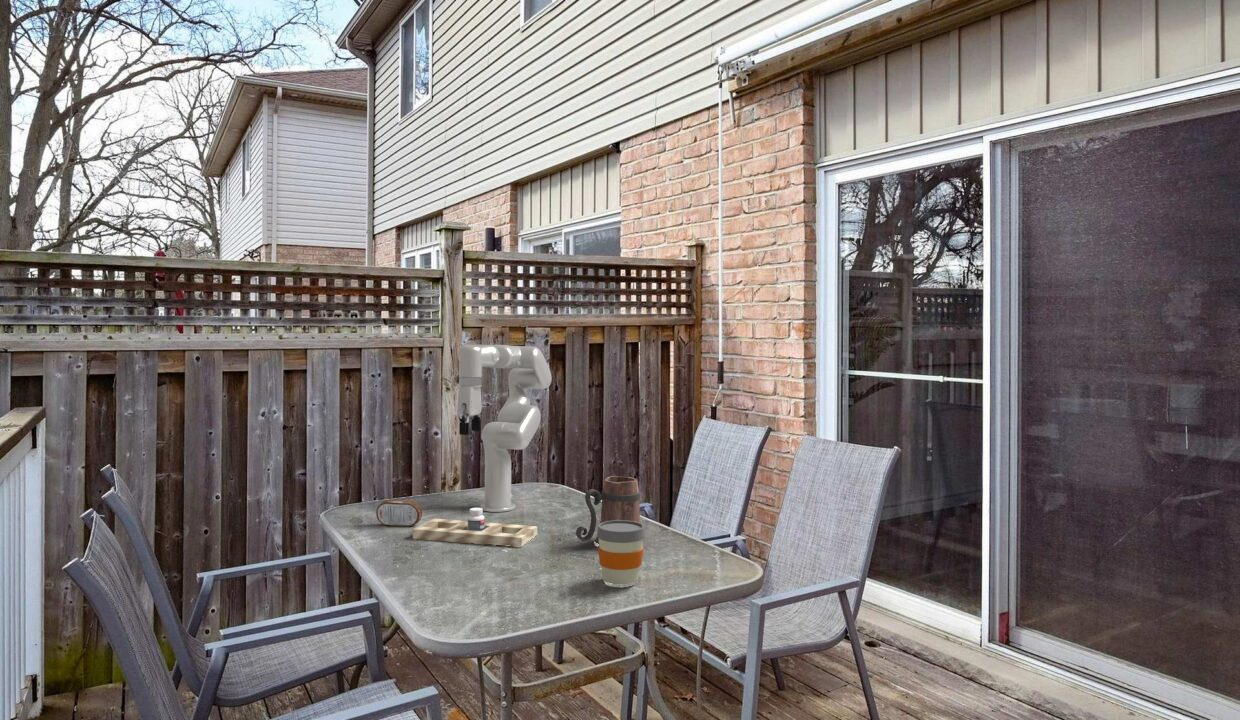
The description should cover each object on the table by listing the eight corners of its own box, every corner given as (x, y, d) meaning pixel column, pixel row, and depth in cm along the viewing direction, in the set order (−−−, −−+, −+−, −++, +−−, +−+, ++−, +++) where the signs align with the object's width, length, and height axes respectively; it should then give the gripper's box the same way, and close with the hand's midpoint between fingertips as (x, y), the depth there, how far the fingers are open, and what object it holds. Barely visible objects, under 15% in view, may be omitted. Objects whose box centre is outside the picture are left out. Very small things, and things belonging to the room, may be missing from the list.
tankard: (629, 533, 255) (629, 472, 254) (657, 546, 240) (659, 481, 239) (564, 542, 243) (565, 478, 242) (590, 556, 228) (591, 488, 227)
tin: (422, 525, 261) (422, 500, 261) (419, 528, 258) (419, 502, 258) (378, 523, 263) (378, 498, 262) (374, 526, 259) (374, 501, 259)
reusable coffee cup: (607, 592, 198) (608, 534, 197) (589, 577, 209) (590, 522, 208) (652, 586, 203) (653, 529, 202) (632, 572, 214) (633, 518, 214)
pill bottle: (482, 539, 245) (482, 511, 245) (465, 539, 245) (465, 510, 245) (486, 534, 250) (486, 507, 250) (469, 534, 251) (469, 506, 250)
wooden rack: (412, 538, 245) (412, 529, 245) (433, 527, 258) (433, 518, 258) (521, 547, 237) (521, 537, 236) (537, 535, 250) (537, 526, 250)
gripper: (470, 380, 274) (470, 429, 275) (449, 383, 258) (448, 435, 258) (490, 380, 273) (490, 429, 273) (470, 384, 256) (470, 436, 257)
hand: (470, 432), depth 266 cm, fingers open, 9 cm apart
